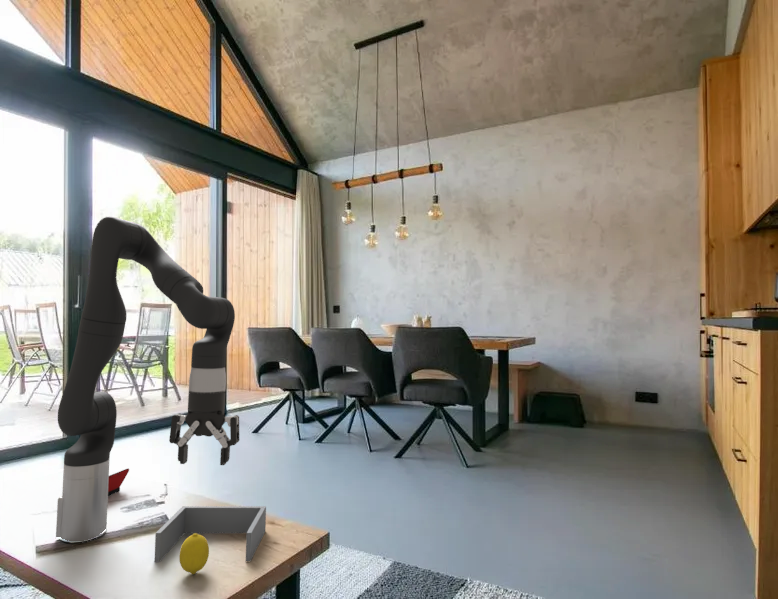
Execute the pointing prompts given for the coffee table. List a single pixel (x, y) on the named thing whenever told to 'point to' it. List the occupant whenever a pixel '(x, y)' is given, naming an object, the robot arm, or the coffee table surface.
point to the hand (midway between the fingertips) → (203, 463)
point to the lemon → (194, 553)
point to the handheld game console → (116, 481)
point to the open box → (212, 525)
